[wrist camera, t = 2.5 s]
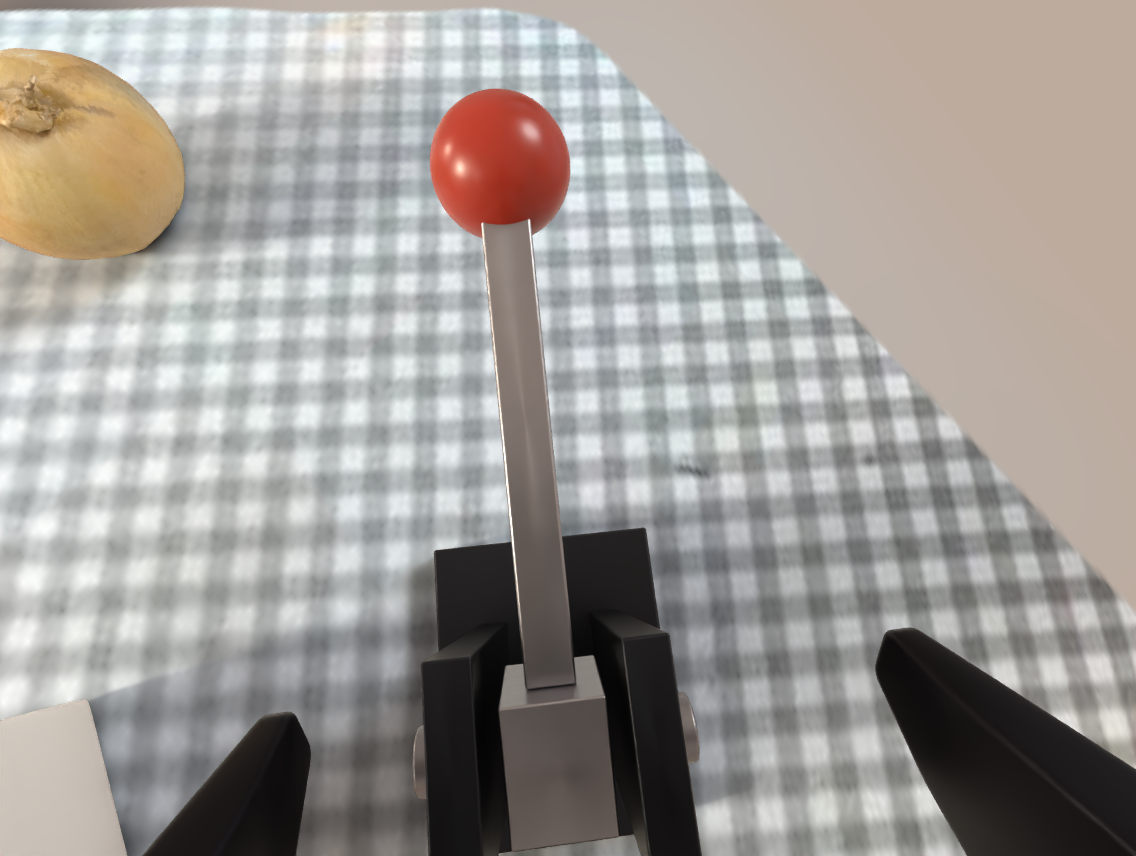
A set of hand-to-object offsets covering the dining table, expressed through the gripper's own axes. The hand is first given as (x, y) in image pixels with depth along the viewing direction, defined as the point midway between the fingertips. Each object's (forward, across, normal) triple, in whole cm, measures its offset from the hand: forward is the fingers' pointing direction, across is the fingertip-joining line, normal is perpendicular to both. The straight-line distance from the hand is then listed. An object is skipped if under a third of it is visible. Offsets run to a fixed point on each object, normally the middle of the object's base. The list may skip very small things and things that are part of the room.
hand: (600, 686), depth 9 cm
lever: (+7, +1, 0) cm, 7 cm away
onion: (+24, +18, -5) cm, 30 cm away
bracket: (+8, +1, +11) cm, 14 cm away
